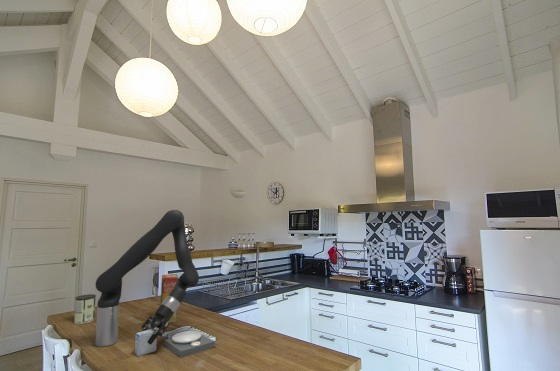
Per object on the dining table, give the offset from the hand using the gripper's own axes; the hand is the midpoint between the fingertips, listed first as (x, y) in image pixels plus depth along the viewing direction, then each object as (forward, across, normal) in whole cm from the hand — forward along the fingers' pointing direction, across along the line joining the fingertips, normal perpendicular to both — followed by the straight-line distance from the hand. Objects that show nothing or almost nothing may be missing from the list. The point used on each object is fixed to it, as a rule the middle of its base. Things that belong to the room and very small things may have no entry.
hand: (143, 341), depth 137 cm
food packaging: (-20, -34, +27) cm, 48 cm away
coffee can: (+2, -72, +5) cm, 72 cm away
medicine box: (+3, 0, +4) cm, 5 cm away
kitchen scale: (-8, +10, +15) cm, 20 cm away
